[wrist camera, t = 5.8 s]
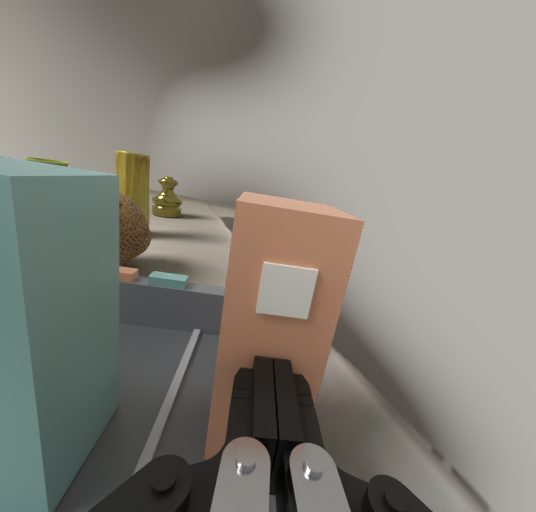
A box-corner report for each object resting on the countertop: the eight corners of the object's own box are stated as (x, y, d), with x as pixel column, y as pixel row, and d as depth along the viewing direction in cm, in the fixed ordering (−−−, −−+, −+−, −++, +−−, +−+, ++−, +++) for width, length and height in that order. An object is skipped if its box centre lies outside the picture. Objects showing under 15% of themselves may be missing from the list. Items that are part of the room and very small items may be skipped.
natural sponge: (44, 266, 31) (37, 179, 28) (112, 251, 39) (111, 182, 37) (100, 288, 28) (98, 194, 26) (161, 267, 37) (164, 194, 34)
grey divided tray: (323, 595, 10) (363, 491, 8) (-493, 554, 8) (-643, 410, 6) (285, 345, 24) (297, 290, 23) (-8, 309, 22) (-18, 246, 21)
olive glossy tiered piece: (185, 216, 74) (188, 179, 71) (173, 219, 67) (175, 178, 64) (160, 211, 75) (162, 174, 72) (145, 214, 68) (146, 173, 65)
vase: (121, 228, 52) (122, 151, 48) (154, 232, 53) (157, 157, 49) (106, 235, 46) (105, 148, 42) (143, 240, 47) (145, 155, 43)
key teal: (45, 525, 9) (4, 176, 6) (-93, 515, 9) (-221, 141, 6) (119, 404, 14) (119, 175, 11) (31, 395, 14) (3, 156, 11)
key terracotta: (298, 470, 13) (366, 221, 9) (203, 462, 12) (235, 201, 9) (287, 387, 17) (328, 205, 14) (219, 379, 17) (244, 191, 14)
